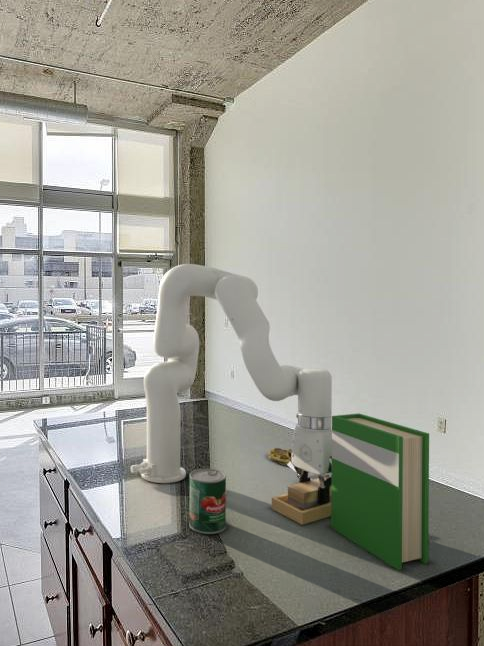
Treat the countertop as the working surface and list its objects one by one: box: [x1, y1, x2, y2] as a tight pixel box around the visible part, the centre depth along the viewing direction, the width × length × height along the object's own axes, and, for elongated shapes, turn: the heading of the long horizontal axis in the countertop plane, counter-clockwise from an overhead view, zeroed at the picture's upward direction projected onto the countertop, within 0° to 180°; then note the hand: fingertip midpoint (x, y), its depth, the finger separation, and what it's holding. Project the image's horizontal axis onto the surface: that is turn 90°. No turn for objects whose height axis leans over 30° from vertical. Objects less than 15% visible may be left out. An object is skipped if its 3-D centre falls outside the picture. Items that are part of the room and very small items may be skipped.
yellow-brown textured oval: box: [267, 447, 292, 467], centre depth 149 cm, size 9×5×15 cm
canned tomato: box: [188, 468, 227, 535], centre depth 104 cm, size 8×8×11 cm
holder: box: [271, 493, 331, 525], centre depth 113 cm, size 18×10×3 cm, turn 120°
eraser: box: [287, 478, 331, 509], centre depth 113 cm, size 12×5×4 cm, turn 120°
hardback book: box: [330, 412, 430, 570], centre depth 97 cm, size 18×7×24 cm, turn 21°
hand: (314, 498), depth 113 cm, fingers closed on eraser, 5 cm apart
